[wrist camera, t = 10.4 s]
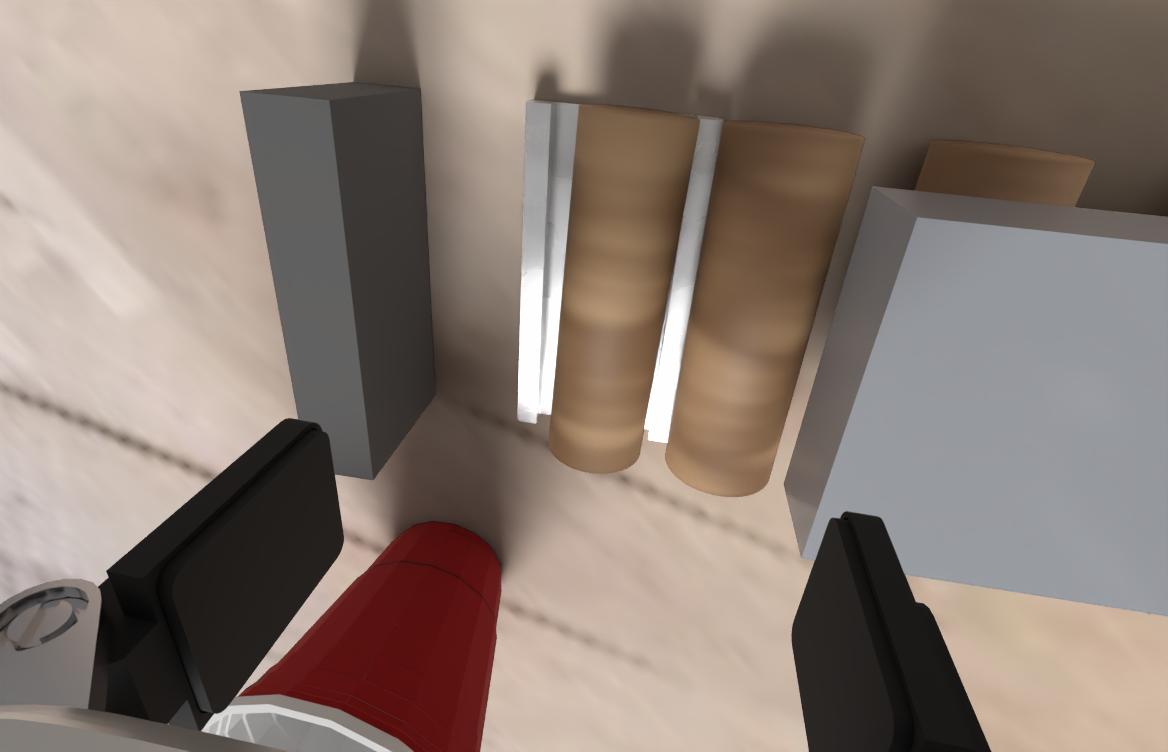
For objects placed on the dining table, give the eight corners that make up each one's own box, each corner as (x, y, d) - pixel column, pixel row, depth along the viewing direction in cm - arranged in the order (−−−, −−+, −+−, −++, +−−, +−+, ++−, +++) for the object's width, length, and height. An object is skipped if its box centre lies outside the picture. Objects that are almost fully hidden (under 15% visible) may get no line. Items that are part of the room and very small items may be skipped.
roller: (707, 126, 16) (574, 111, 16) (641, 479, 22) (543, 467, 22) (693, 114, 19) (582, 101, 19) (639, 424, 25) (553, 414, 25)
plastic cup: (346, 451, 28) (148, 683, 18) (568, 513, 28) (500, 785, 18) (339, 603, 34) (183, 852, 23) (526, 656, 33) (454, 931, 23)
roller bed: (1331, 175, 18) (1489, 205, 14) (1125, 492, 24) (1203, 569, 20) (718, 117, 19) (726, 130, 16) (666, 427, 25) (663, 487, 22)
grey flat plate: (721, 117, 19) (723, 120, 18) (668, 427, 25) (668, 442, 24) (533, 99, 20) (526, 101, 19) (523, 407, 26) (517, 420, 25)
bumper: (420, 88, 20) (329, 100, 15) (435, 394, 26) (373, 480, 21) (352, 82, 21) (239, 91, 15) (382, 387, 26) (307, 469, 21)
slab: (1554, 256, 15) (1787, 310, 11) (1290, 559, 19) (1405, 654, 16) (872, 186, 16) (917, 216, 13) (783, 484, 21) (801, 558, 18)
